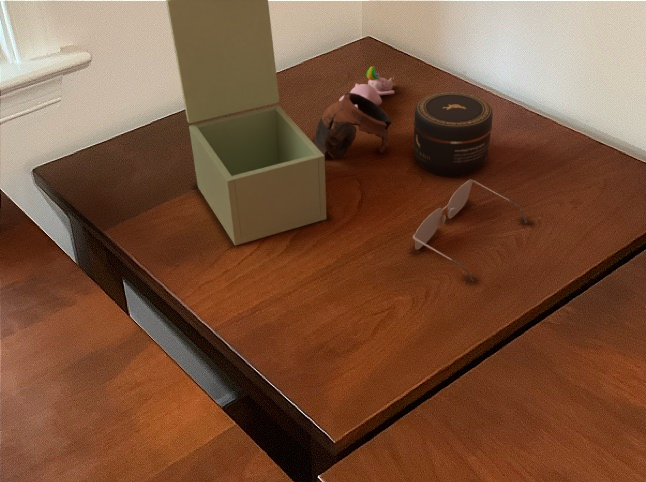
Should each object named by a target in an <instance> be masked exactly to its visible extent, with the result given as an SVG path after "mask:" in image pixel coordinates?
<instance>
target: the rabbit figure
mask: <svg viewBox="0 0 646 482" xmlns="http://www.w3.org/2000/svg"><path fill="white" fill-rule="evenodd" d="M375 66H376V65H372V66H370V67H369V68H368V69H367V71H366V74H365V75H366V77H367V79H368V81H367V83H360V84H359V83H357V82H356V83H354V87H353V88H352V89H351V90H350V92H349V93H355V94H358V95H361V96H363V97H365V98H367V99H369V100H371V101H372V102H373V103H375V104H376V105H378V106H379V107H380V105H381V104H382V103H383V100H382V97H381V96H387V95H389V96H390V95H393V94H395V90H392V89H393V88H394V87H395V86H396V82H395V76H392V77H390V78H389V79H387V78H384V77H381V76H380V74H379V73H377V72H376V67H375ZM343 98H344V95H342V96H341V97H340V98H339V100H338V101H342V100H343ZM355 106H356V107H357V108H358V106H357V105H355Z"/></svg>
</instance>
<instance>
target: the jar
mask: <svg viewBox="0 0 646 482" xmlns="http://www.w3.org/2000/svg"><path fill="white" fill-rule="evenodd" d="M413 115H414V118H413V144H412V145H413V152H414V156H415V160H416V162H417V163H418V164H419V166H420V167H421V168H422V169H423V170H425V171H426V172H428V173H430V174H433V175H436V176H440V177H445V178H446V177H447V178H460V177H465V176H469V175H471V174H474V173H475V172H477V171H478V170H479V169H481V168H482V167H483V165H484V163H485V161H486V160H487V157H488V154H489V149H490V141H491V133H492V130H493V119H494V113H493V108H492V106H491V105H490V104H489V102H488V101H486V100H485V99H483V98H482V97H480V96H478V95H476V94H472V93H469V92H463V91H451V90H449V91H440V92H434V93H431V94H428V95H426V96H424V97H422V98H421V99H420V100H419V101H418V102H417V104H416V105H415V109H414V114H413Z"/></svg>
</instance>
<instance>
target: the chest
mask: <svg viewBox="0 0 646 482" xmlns="http://www.w3.org/2000/svg"><path fill="white" fill-rule="evenodd" d="M188 130H189V136H190V143H191V149H192V155H193V157H192V158H193V162H194V163H193V164H194V169H195V177H196V182H197V183H196V184H197V188H198V190H199V192H201V194H202V196H203V198H204V199H205V201H206V202H207V204H208V205H209V207H210V208H211V210H212V211H213V213H214V215H215V216H216V218H217V219H218V221H219V223H221V226H222V227H223V229H224V230H225V232H226V233H227V235H228V237H229V239H230V240H231V241H232V243H233V244H234V246H238V245H243V244H246V243H249V242H253V241H255V240H259V239H263V238H267V237H269V236H274V235H277V234H280V233H283V232H286V231H291V230H294V229H297V228H300V227H303V226H307V225H311V224H314V223H318V222H320V221H325V220H327V191H326V187H327V186H326V161H325V156H324V155H323V154H322V152H321V151H320V150H319V149H318V148H317V147H316V146H315V145H314V144H313V143H314V142H313V141H312V140H311V139H310V138H309V137H308V136H307V134H305V132H304V131H302V129H301V128H300V127H299V126H298V124H296V123H295V122H294V120H293V119H292V117H290V116H289V115H288V114H287V112H286V111H285V110H284V109H283V108H282V107H281V106H280V105H279V104H277V105H273V106H269V107H264V108H260V109H256V110H251V111H248V112H242V113H238V114H234V115H230V116H229V115H228V116H226V117H222V118H221V117H220V118H217V119H213V120H209V121H205V122H200V123H196V124H191V125H189V126H188Z"/></svg>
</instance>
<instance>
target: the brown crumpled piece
mask: <svg viewBox="0 0 646 482" xmlns="http://www.w3.org/2000/svg"><path fill="white" fill-rule="evenodd" d="M343 96H344V98H343V100H342V101H339V100H338V101H336V102H334V103H332V104H331V105H328V107H327V108H326V109H325V110H324V113H323V114H322V115H321V117H320V120H319V122H318V125H317V126H316V130H315V134H314V135H315V136H314V140H313V142H312V143H313V144H314V145H315V146H316V147H317V148H318V149H319V150H320V151H321V152H322V154H323V155H324V156H325V159H327V156H328V154H329V156H331V158H332V159H335V160H344V159H345V158H346V156H347V155H348V151H349V149H350V147H351V146H352V144H353V142H354V141H355V140H356V137H357V127H358V130H359V131H360V132H364V133H366V134H368V135H374V136H375V137H377V138H381V144H380V147H379V149H378V152H379V153H380V154H383V153H384V151H385V149H386V147H387V144H388V142H389V129H388V128H389V127H390V126H391V124H392V120H391V117H390V116H389V114H388V113H387V112H386V111H385V110H384V109H383V108H382V107H380V105H379V106H378V105H376V104H375V103H373V102H372V101H371V100H369V99H367V98H365V97H363V96H361V95H358V94H355V93H350V92H346V93H345V94H344V95H343ZM355 105H357V106H358V108H357V107H356V106H355ZM333 123H334V124H333ZM356 126H357V127H356ZM332 127H333V128H332Z"/></svg>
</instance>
